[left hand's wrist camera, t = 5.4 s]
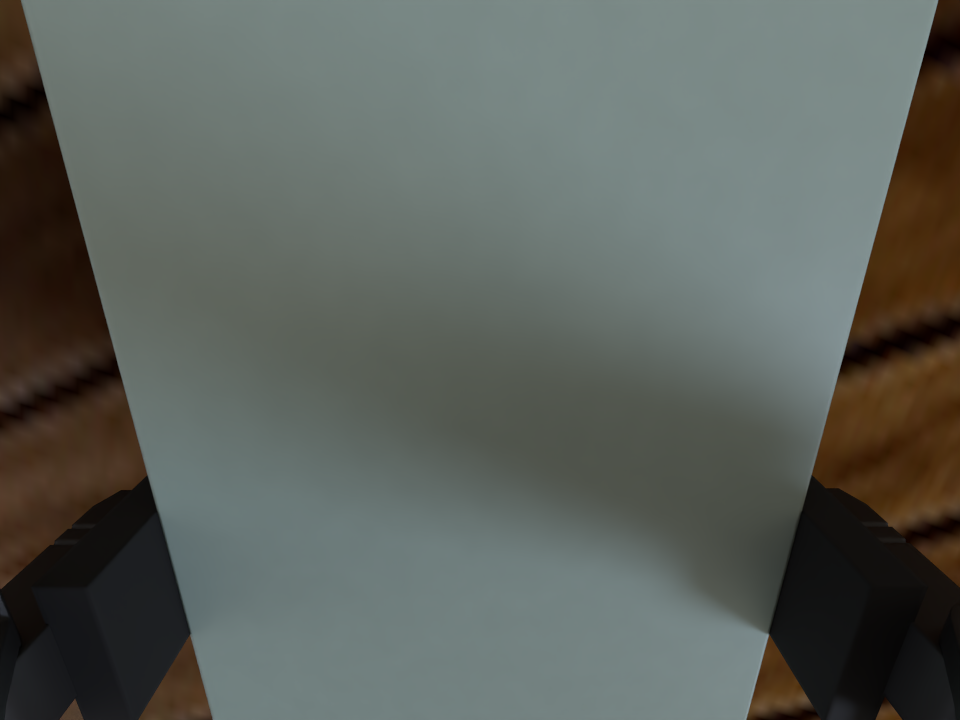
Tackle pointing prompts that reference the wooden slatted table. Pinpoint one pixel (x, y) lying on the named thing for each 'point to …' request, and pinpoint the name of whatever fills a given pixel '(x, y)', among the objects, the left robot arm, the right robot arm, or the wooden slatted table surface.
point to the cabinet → (479, 328)
